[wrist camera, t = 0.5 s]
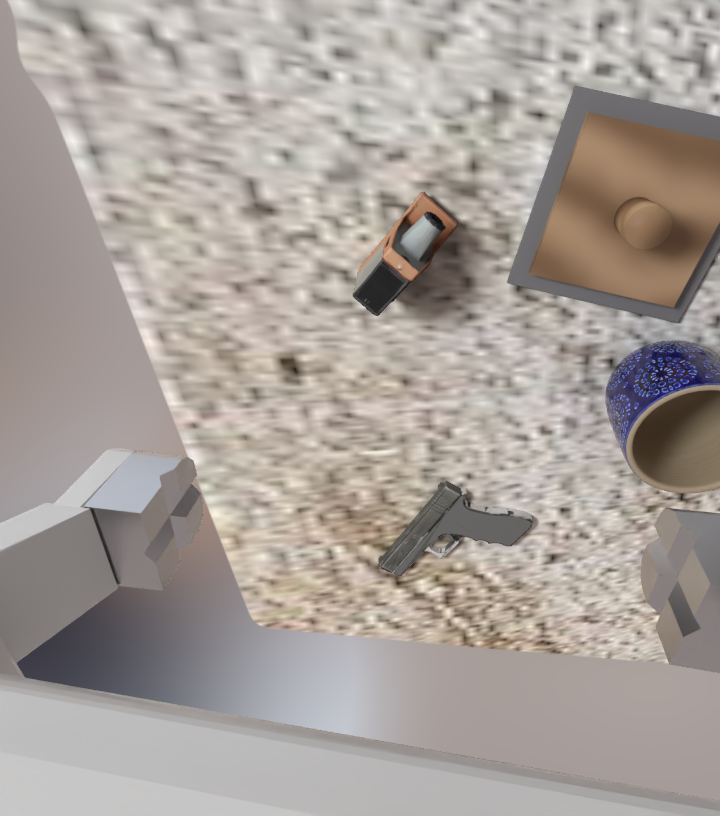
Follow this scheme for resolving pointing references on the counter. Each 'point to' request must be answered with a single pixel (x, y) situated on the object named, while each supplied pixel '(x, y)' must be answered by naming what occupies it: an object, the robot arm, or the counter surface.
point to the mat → (555, 171)
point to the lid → (632, 210)
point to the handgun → (453, 527)
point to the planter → (668, 415)
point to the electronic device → (402, 254)
